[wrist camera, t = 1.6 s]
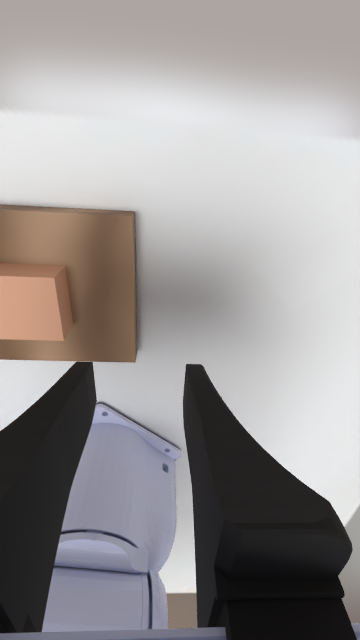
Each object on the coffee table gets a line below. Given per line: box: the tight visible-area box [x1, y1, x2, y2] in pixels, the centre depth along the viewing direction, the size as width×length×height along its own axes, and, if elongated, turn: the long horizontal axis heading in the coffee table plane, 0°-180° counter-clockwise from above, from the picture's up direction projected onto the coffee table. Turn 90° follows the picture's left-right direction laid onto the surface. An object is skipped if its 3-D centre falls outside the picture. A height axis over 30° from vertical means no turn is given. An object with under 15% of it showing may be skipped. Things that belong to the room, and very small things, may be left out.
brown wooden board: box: [0, 205, 137, 362], centre depth 19 cm, size 16×10×2 cm, turn 87°
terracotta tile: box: [0, 263, 73, 341], centre depth 18 cm, size 4×4×2 cm
